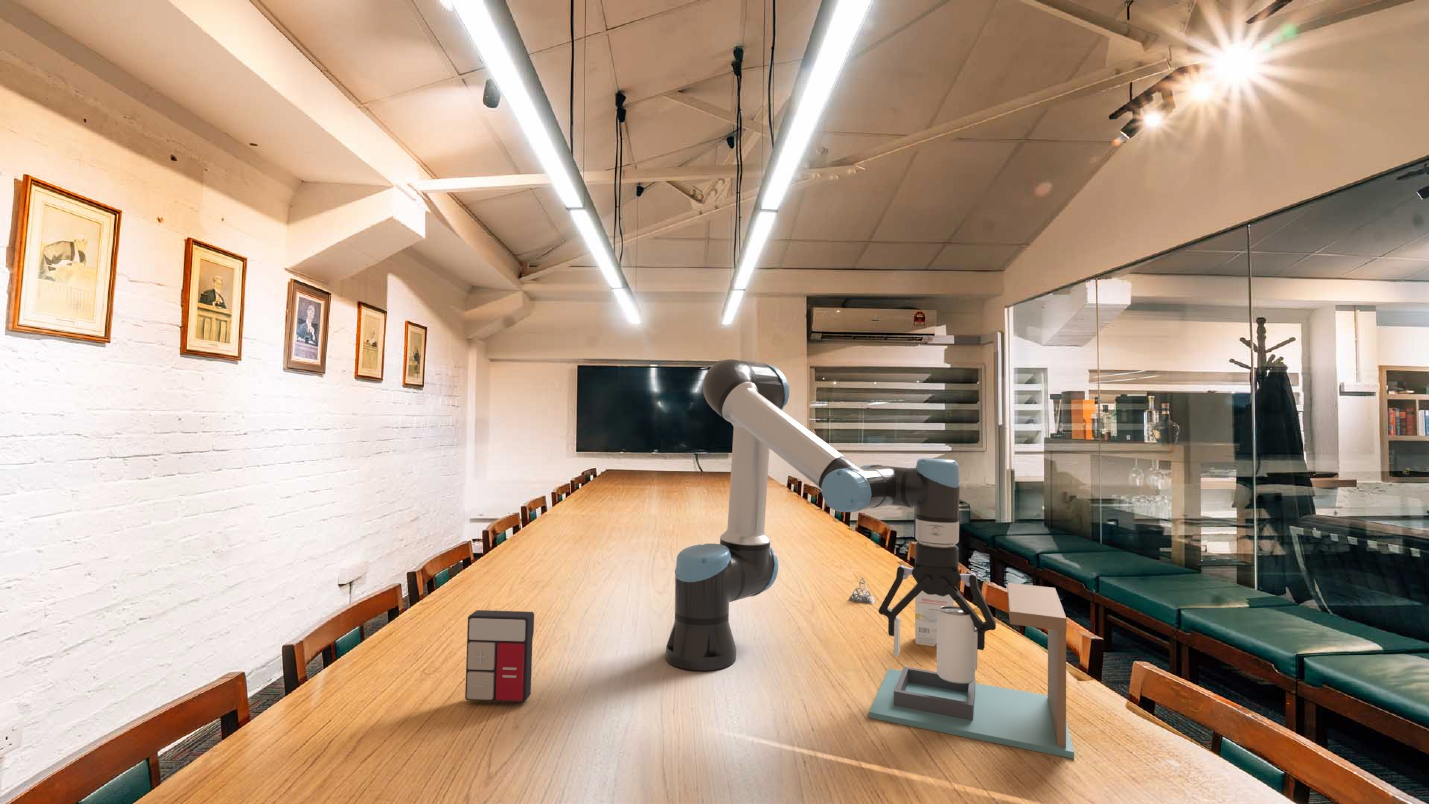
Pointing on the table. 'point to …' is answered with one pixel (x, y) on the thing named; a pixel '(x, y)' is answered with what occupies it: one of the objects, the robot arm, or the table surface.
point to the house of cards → (862, 595)
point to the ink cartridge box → (928, 616)
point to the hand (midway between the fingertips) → (934, 660)
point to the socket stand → (991, 690)
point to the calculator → (499, 656)
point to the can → (955, 645)
